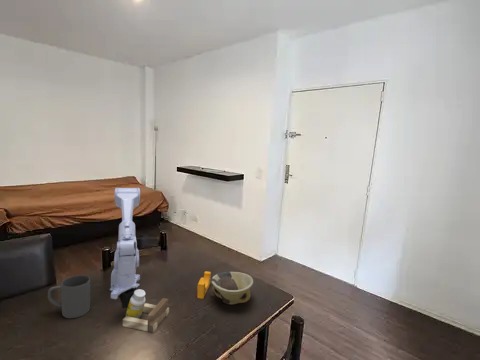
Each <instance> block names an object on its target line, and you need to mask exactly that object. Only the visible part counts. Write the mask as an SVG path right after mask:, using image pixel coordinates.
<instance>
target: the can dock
mask: <svg viewBox="0 0 480 360" xmlns="http://www.w3.org/2000/svg"><path fill="white" fill-rule="evenodd" d="M142 313H145V314H148V315H147V319H143V318H139V319H138V318H133V317H128V316H126V315H125V317H123V318H122V327H124V328H130V329H135V330H139V331H144V332H148V333H151V334H152V333H153V334H154V333H156V332H157V330H158V326H159V325H160V324H161V323H162V322H163V320H164V319H165V318H167V317H168V316H169V315H170V307H169V298H165V297H163V298H161V300H160V301H158V303H157V304H151V303H147V302H145V304H144V307H143V310H142Z"/></svg>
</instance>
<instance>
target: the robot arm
mask: <svg viewBox="0 0 480 360" xmlns="http://www.w3.org/2000/svg"><path fill="white" fill-rule="evenodd" d="M140 201H141V189H140V187H115V188H114V204H115V206H116V207H117V208H120V211H121V222H120V223H119V225H118V239H117V240H118V241H116V249H115V252H114V258H113V269H112V272H111V274H110V288H109V291H111V292H110V299H113V300H117V299H118V298H119V300H120V303H121V306H122V308H124V309H127V308H128V304H129V301H130V298H131V296H133V295H134V292H135V290H137V288H138V287H140V283H138V282H139V281H140V280H141V275H140V274H136V270H137V268H138V267H140V253H139V252H140V251H139V248H138V246H137V245H138V242H137V237H136V224H135V222H134V221H133V213H134V209H135V208H137V207H139V205H140Z"/></svg>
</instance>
